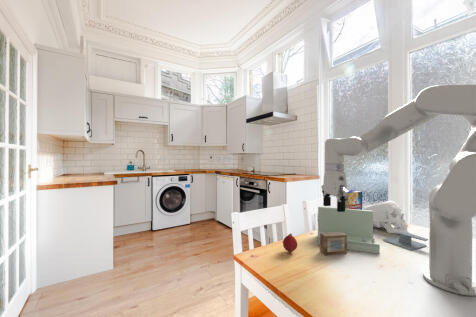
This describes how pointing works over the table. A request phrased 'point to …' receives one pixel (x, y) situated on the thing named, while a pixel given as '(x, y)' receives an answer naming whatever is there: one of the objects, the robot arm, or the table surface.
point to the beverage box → (354, 200)
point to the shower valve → (406, 241)
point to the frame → (333, 243)
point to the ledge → (349, 227)
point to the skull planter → (388, 217)
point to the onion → (290, 243)
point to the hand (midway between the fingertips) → (333, 208)
